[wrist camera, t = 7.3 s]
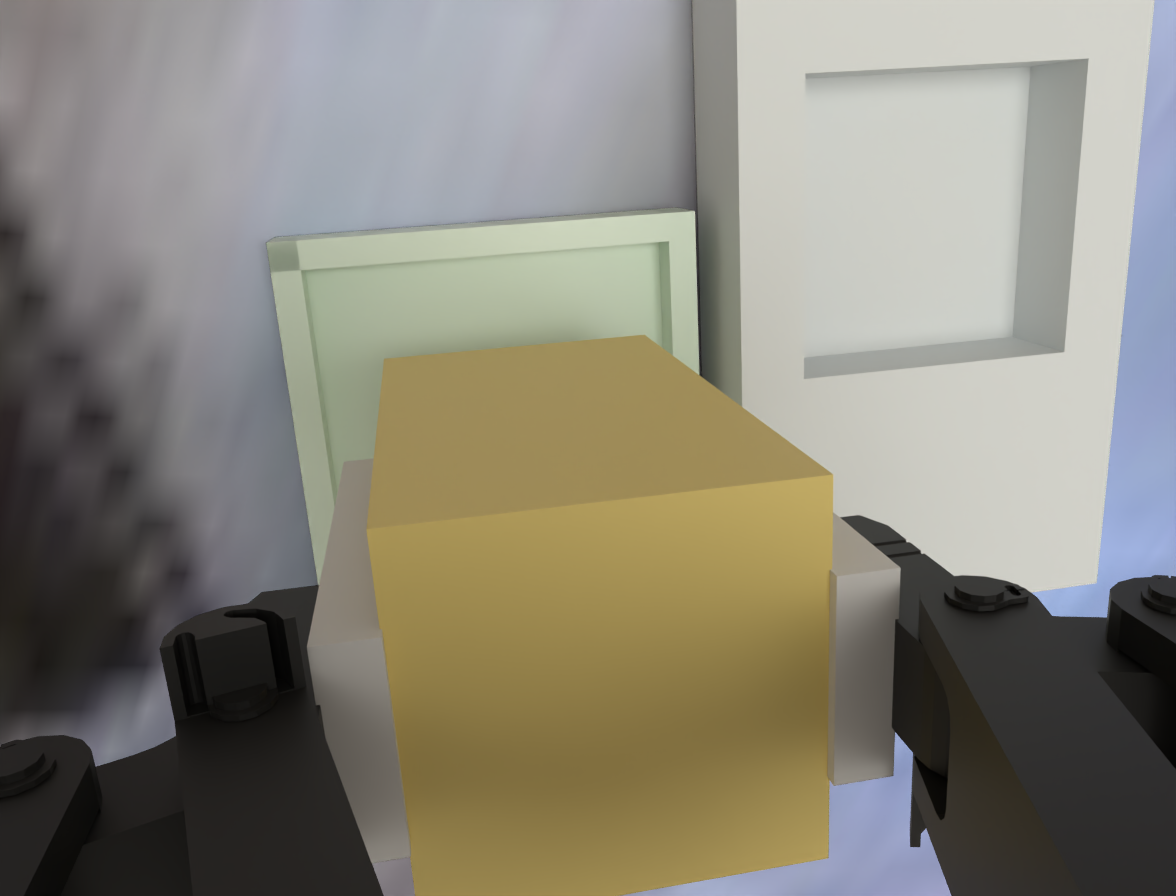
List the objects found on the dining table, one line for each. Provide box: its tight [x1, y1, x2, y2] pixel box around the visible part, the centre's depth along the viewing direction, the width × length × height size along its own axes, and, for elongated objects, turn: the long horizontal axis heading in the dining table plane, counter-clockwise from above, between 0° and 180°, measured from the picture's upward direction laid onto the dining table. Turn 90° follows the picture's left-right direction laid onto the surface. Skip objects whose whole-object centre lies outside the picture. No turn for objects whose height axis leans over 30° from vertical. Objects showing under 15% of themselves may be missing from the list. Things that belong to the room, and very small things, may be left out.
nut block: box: [366, 335, 833, 896], centre depth 15 cm, size 5×5×9 cm
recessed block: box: [692, 0, 1154, 592], centre depth 22 cm, size 9×18×3 cm, turn 3°
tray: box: [266, 208, 699, 585], centre depth 23 cm, size 9×9×2 cm
